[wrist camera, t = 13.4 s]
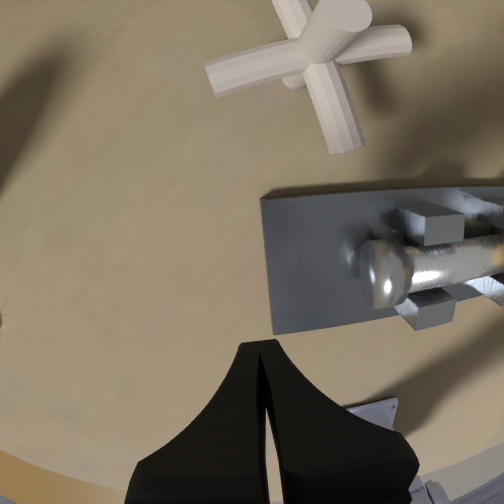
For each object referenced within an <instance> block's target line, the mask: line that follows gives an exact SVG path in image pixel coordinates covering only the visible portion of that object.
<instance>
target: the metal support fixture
mask: <svg viewBox="0 0 504 504" xmlns="http://www.w3.org/2000/svg"><path fill="white" fill-rule="evenodd" d="M260 208H261V218H262V227H263V237H264V248H265V258H266V268H267V278H268V289H269V300H270V310H271V321H272V330H273V335H280V334H288V333H295V332H303V331H310V330H316V329H323V328H329V327H336V326H342V325H348V324H354V323H359V322H365V321H370V320H376V319H381V318H386V317H391V316H396V315H401V316H402V317H403V318H404V319H405V320H406V321H407V322H408V324H409V325H410V326H411V327H412V328H413V329H414V330H415V331H417V330H421V329H425V328H429V327H433V326H437V325H441V324H445V323H448V322H452V321H453V315H454V310H455V304H456V302H458V301H462V300H466V299H469V298H473V297H477V296H481V295H486V296H487V297H488V298H490V299H491V300H493V301H494V302H496V303H497V304H498V305H500V306H504V272H503V273H499V274H495V275H491V276H487V277H482V278H478V279H474V280H469V281H465V282H460V283H456V284H451V285H446V286H442V287H437V288H432V289H427V290H422V291H417V292H412V293H408V296H407V299H406V300H405V302H404V303H403V304H401V305H397V306H392V307H387V308H381V309H376V310H375V309H372V308H371V307H370V306H369V305H368V303H367V301H366V299H365V297H364V294H363V291H362V287H361V281H360V274H359V256H360V250H361V247H362V245H363V243H364V242H366V241H370V240H379V239H388V238H394V239H396V240H398V241H399V242H400V244H401V245H402V247H406V246H414V245H423V246H429V245H436V244H443V243H451V242H458V241H463V239H466V238H474V237H481V236H488V235H495V234H503V233H504V185H456V186H425V187H402V188H383V189H367V190H352V191H338V192H325V193H313V194H302V195H291V196H281V197H271V198H261V199H260Z"/></svg>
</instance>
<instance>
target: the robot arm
mask: <svg viewBox="0 0 504 504" xmlns="http://www.w3.org/2000/svg"><path fill="white" fill-rule="evenodd" d="M398 402H399V401H398V399H397V398H396V397H394V398H390V399H386V400H382V401H378V402H374V403H370V404H366V405H362V406H357V407H353V408H348V409H345V408H343V407H341V406H340V405H338V404H337V403H335V402H334V401H332V400H331V399H330V398H328V397H327V396H326V395H325V394H323V393H322V392H321V391H320V390H318V389H317V388H316V387H315V386H314V385H313V384H312V383H311V382H310V381H309V380H308V379H307V378H306V377H305V376H304V375H303V374H302V373H301V372H300V371H299V370H298V368H297V367H296V366H295V365H294V364H293V363H292V361H291V360H290V359H289V357H288V356H287V355H286V353H285V352H284V350H283V349H282V347H281V345H280V343H279V341H277V340H276V339H271V340H262V341H253V342H244V343H241V344H240V345H239V347H238V350H237V353H236V356H235V358H234V361H233V363H232V365H231V367H230V369H229V371H228V373H227V375H226V377H225V379H224V380H223V382H222V383H221V385H220V387H219V388H218V390H217V391H216V393H215V395H214V396H213V397H212V399H211V400H210V401H209V403H208V404H207V405H206V407H205V408H204V409H203V410H202V411H201V413H200V414H199V415H198V416H197V417H196V418H195V419H194V420H193V421H192V422H191V423H190V424H189V425H188V426H187V427H186V428H185V429H184V430H183V431H182V432H181V433H179V434H178V435H177V436H176V437H175V438H173V439H172V440H171V441H170V442H169V443H167V444H166V445H165V446H163V447H162V448H160V449H159V450H157V451H156V452H154V453H152V454H151V455H149V456H148V457H146V458H144V459H143V460H141V461H139V462H138V463H137V466H136V468H135V470H134V472H133V475H132V477H131V479H130V482H129V486H128V490H127V494H126V498H125V502H124V504H270V499H269V489H268V480H267V470H266V454H265V452H266V409H267V413H268V417H269V422H270V426H271V430H272V434H273V439H274V443H275V447H276V451H277V456H278V462H279V470H280V478H281V486H282V494H283V502H284V504H504V473H502V474H500V475H499V476H497V477H496V478H494V479H492V480H490V481H489V482H487V483H485V484H484V485H482V486H480V487H478V488H476V489H475V490H473V491H471V492H469V493H467V494H465V495H463V496H461V497H459V498H457V499H455V500H453V501H451V502H450V500H449V498H448V496H447V495H446V493H445V491H444V489H443V487H442V486H441V484H440V483H439V482H435V481H432V480H429V481H427V482H425V483H424V484H425V487H426V490H427V492H428V494H427V492H426V490H425V488H424V486H423V484H422V482H421V480H420V478H419V476H418V475H416V474H417V472H418V469H419V466H420V464H419V461H418V458H417V456H416V454H415V453H414V451H413V449H412V448H411V446H410V445H409V443H408V442H407V441H406V439H405V438H404V437H403V436H402V434H401V433H399V432H396V431H395V430H394V428H393V426H392V425H393V421H394V418H395V414H396V410H397V406H398ZM0 504H16V503H15V502H13V501H12V500H10V499H8V498H5V497H3V496H1V495H0Z"/></svg>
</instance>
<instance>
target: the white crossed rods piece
mask: <svg viewBox="0 0 504 504" xmlns="http://www.w3.org/2000/svg"><path fill="white" fill-rule="evenodd" d="M272 3H273V5H274V7H275V9H276V11H277V14H278V16H279V18H280V20H281V23H282V25H283V27H284V30H285V32H286V34H287V37H288V39H287V40H282V41H278V42H274V43H269V44H265V45H261V46H258V47H254V48H250V49H247V50H243V51H240V52H236V53H233V54H229V55H226V56H223V57H220V58H217V59H214V60H211V61H208V62H205V63H204V66H205V69H206V71H207V74H208V77H209V80H210V82H211V85H212V88H213V91H214V93H215V96H216V98H218V97H220V96H223V95H226V94H229V93H233V92H236V91H239V90H242V89H245V88H249V87H252V86H255V85H259V84H262V83H266V82H269V81H273V80H277V79H281V80H282V81H283V83H284V84H285V85H286V86H287V87H289V88H291V89H295V90H298V89H302V88H304V87H306V86H307V88H308V91H309V93H310V96H311V99H312V102H313V105H314V108H315V110H316V113H317V116H318V119H319V122H320V125H321V128H322V131H323V135H324V138H325V141H326V144H327V147H328V150H329V154H330V155H332V154H338V153H343V152H347V151H351V150H355V149H358V148H361V147H364V146H366V145H365V141H364V138H363V134H362V131H361V128H360V125H359V121H358V118H357V115H356V112H355V109H354V106H353V103H352V100H351V97H350V94H349V91H348V88H347V86H346V83H345V80H344V77H343V75H342V72H341V69H340V67H339V65H344V64H350V63H356V62H362V61H368V60H375V59H383V58H391V57H399V56H408V55H409V54H410V52H411V50H412V41H411V37H410V34H409V33H408V31H407V30H406V28H405V27H403V26H402V25H400V24H397V25H381V26H369V25H370V24H371V21H372V12H371V9H370V6H369V5H368V3H367V2H366V1H365V0H319V1H318V3H317V5H316V7H315V8H314V6H313V4H312V2H311V0H272ZM368 26H369V27H368Z"/></svg>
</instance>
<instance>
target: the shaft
mask: <svg viewBox="0 0 504 504" xmlns="http://www.w3.org/2000/svg"><path fill="white" fill-rule="evenodd" d="M503 272H504V233H503V234H495V235H488V236H481V237H474V238H466V239H463V241H458V242H451V243H443V244H436V245H429V246H423V245H414V246H406V247H402V245H401V244H400V242H399V241H398V240H396V239H394V238H388V239H379V240H370V241H366V242H364V243H363V245H362V247H361V250H360V256H359V274H360V281H361V287H362V291H363V294H364V297H365V299H366V301H367V303H368V305H369V306H370V307H371V308H372V309H375V310H376V309H381V308H387V307H392V306H397V305H401V304H403V303H404V302H405V300H406V299H407V296H408V293H412V292H417V291H422V290H427V289H432V288H437V287H442V286H446V285H451V284H456V283H460V282H465V281H469V280H474V279H478V278H482V277H487V276H491V275H495V274H499V273H503Z"/></svg>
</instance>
